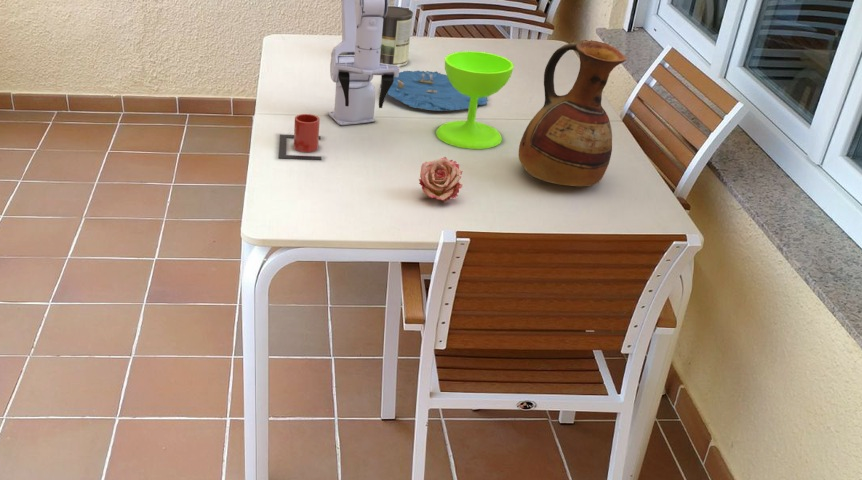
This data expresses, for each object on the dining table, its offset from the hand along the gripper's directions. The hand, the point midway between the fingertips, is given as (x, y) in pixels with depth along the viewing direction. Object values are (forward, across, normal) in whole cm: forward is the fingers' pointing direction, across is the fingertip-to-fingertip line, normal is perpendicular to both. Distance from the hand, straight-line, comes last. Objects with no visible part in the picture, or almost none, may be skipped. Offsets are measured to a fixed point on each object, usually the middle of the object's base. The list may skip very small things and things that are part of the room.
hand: (363, 105), depth 221 cm
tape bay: (+9, -14, -3) cm, 17 cm away
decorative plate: (+10, +20, +37) cm, 43 cm away
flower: (+10, +16, -27) cm, 33 cm away
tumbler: (+9, -13, -3) cm, 16 cm away
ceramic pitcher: (+10, +44, -13) cm, 47 cm away
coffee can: (+10, +11, +63) cm, 64 cm away
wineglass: (+10, +27, +8) cm, 30 cm away
